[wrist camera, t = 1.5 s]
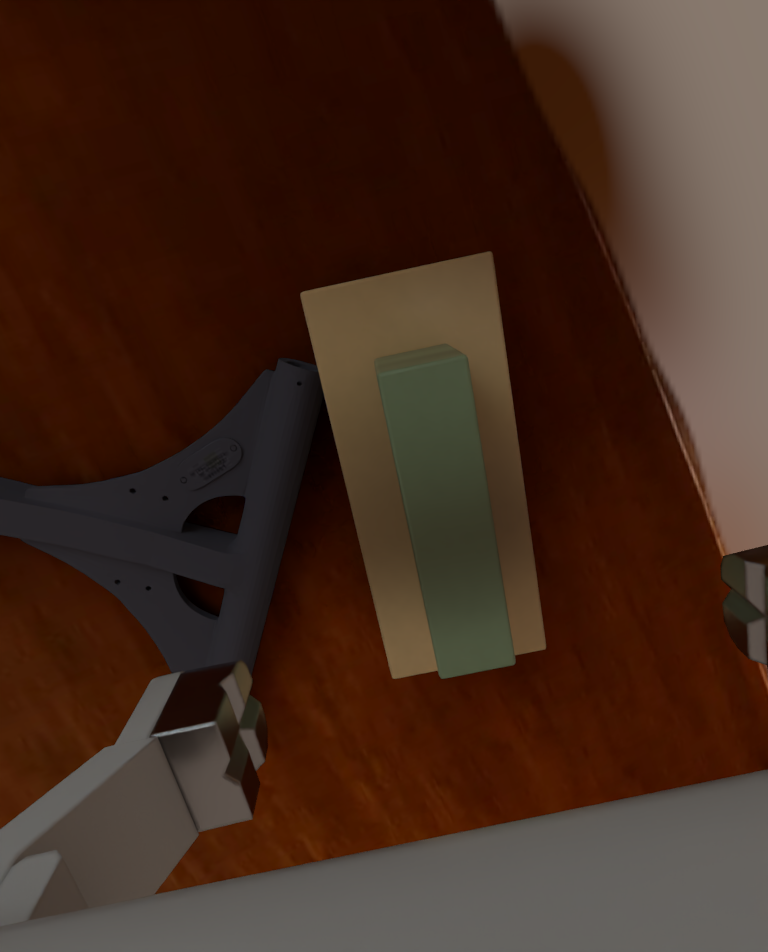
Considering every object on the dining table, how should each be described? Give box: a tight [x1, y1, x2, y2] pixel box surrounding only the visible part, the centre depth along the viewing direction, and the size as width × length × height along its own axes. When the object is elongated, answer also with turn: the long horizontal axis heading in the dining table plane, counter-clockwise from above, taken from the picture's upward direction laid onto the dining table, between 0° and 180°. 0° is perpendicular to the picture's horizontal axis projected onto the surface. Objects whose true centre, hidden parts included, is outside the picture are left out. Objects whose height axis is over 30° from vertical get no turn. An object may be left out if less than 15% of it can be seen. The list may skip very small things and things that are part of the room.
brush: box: [300, 251, 546, 679], centre depth 17 cm, size 12×5×7 cm, turn 12°
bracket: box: [0, 358, 324, 675], centre depth 19 cm, size 14×15×3 cm
